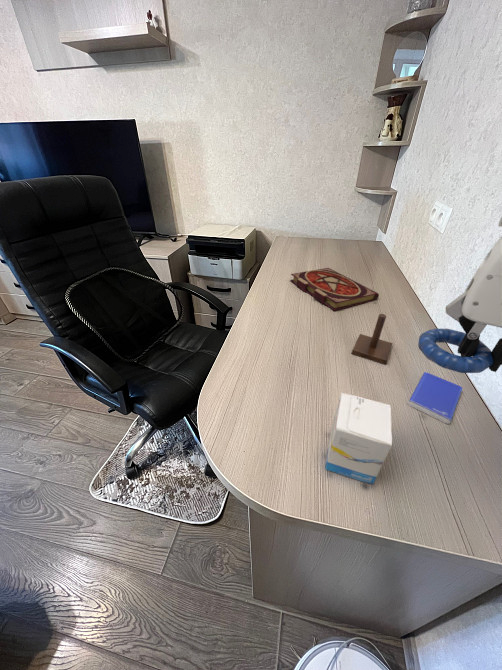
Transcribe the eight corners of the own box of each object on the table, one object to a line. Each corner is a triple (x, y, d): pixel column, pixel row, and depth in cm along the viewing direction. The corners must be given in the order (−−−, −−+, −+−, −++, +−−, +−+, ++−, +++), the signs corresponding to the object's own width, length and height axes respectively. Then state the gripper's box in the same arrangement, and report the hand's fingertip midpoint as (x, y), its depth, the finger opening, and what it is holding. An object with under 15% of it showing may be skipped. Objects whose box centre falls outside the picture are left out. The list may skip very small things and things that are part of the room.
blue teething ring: (484, 348, 43) (491, 336, 42) (491, 385, 36) (500, 372, 35) (418, 331, 47) (423, 320, 45) (414, 362, 40) (419, 350, 39)
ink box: (374, 486, 47) (394, 445, 41) (323, 469, 50) (335, 428, 43) (374, 444, 54) (391, 403, 47) (330, 431, 56) (340, 390, 50)
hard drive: (451, 419, 57) (463, 387, 64) (409, 399, 61) (424, 371, 69) (448, 424, 58) (460, 391, 65) (407, 404, 62) (422, 375, 70)
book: (377, 301, 103) (380, 288, 101) (332, 312, 96) (335, 299, 93) (328, 274, 124) (330, 263, 122) (288, 281, 116) (289, 270, 114)
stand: (391, 347, 79) (403, 312, 73) (385, 365, 73) (399, 328, 66) (359, 337, 83) (368, 304, 77) (351, 354, 77) (360, 318, 70)
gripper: (470, 228, 30) (413, 358, 41) (696, 254, 24) (557, 400, 34) (466, 215, 36) (416, 333, 46) (650, 233, 29) (542, 365, 40)
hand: (477, 360), depth 40 cm, fingers closed on blue teething ring, 2 cm apart
